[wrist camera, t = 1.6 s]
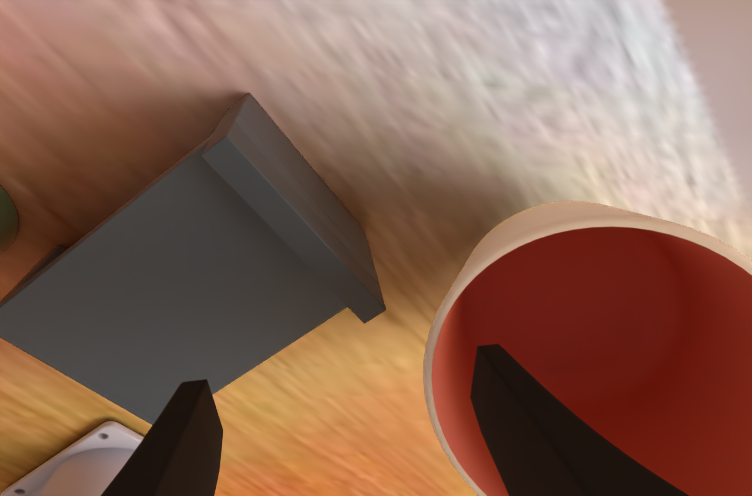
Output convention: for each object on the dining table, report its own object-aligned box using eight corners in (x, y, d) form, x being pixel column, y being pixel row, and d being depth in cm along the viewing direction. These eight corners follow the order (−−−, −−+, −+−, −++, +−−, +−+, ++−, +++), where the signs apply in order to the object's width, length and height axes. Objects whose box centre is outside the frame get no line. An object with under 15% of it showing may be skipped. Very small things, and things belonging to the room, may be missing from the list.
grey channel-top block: (183, 356, 23) (149, 460, 18) (42, 258, 19) (-54, 355, 14) (366, 232, 21) (386, 310, 16) (249, 91, 17) (226, 134, 12)
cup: (493, 175, 21) (477, 171, 12) (719, 234, 19) (923, 288, 9) (437, 355, 24) (386, 470, 14) (632, 429, 21) (728, 627, 12)
